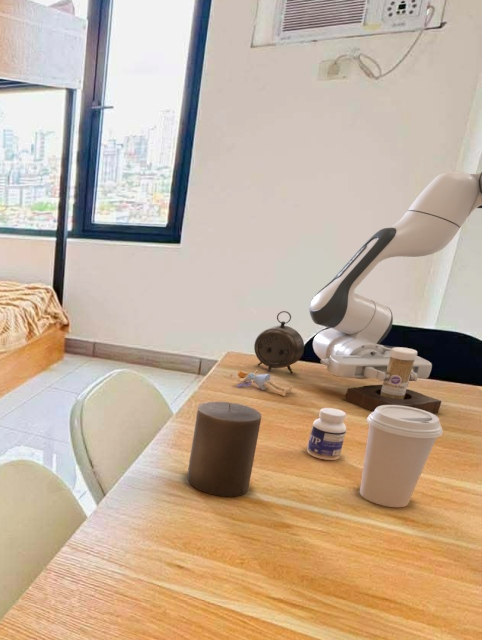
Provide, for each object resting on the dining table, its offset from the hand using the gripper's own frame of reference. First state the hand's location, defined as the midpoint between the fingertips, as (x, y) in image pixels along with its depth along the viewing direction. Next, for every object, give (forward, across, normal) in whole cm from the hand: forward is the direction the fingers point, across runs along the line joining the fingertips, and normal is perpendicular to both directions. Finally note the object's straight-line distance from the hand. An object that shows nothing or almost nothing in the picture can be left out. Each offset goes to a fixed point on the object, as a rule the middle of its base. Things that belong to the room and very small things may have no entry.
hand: (400, 377), depth 139 cm
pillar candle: (+38, -53, +8) cm, 66 cm away
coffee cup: (+42, -28, +8) cm, 51 cm away
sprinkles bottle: (-1, 0, +7) cm, 7 cm away
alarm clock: (-27, -13, +7) cm, 31 cm away
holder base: (-1, 0, +7) cm, 7 cm away
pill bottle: (+26, -28, +8) cm, 39 cm away
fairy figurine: (-12, -23, +7) cm, 27 cm away
